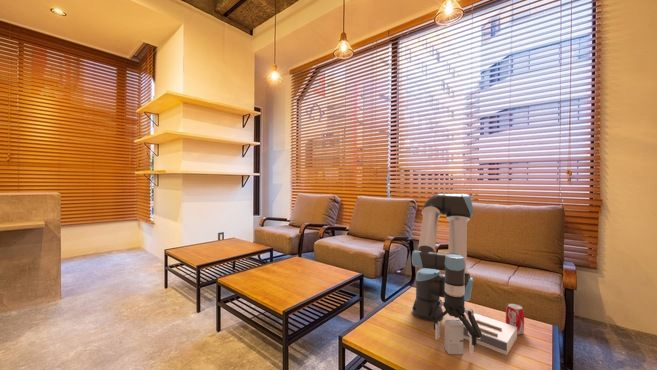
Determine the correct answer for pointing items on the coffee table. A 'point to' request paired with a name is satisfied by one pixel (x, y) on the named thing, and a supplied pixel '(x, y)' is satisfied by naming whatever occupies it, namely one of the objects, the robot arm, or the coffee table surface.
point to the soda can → (515, 317)
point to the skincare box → (454, 336)
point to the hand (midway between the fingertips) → (453, 344)
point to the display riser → (494, 334)
